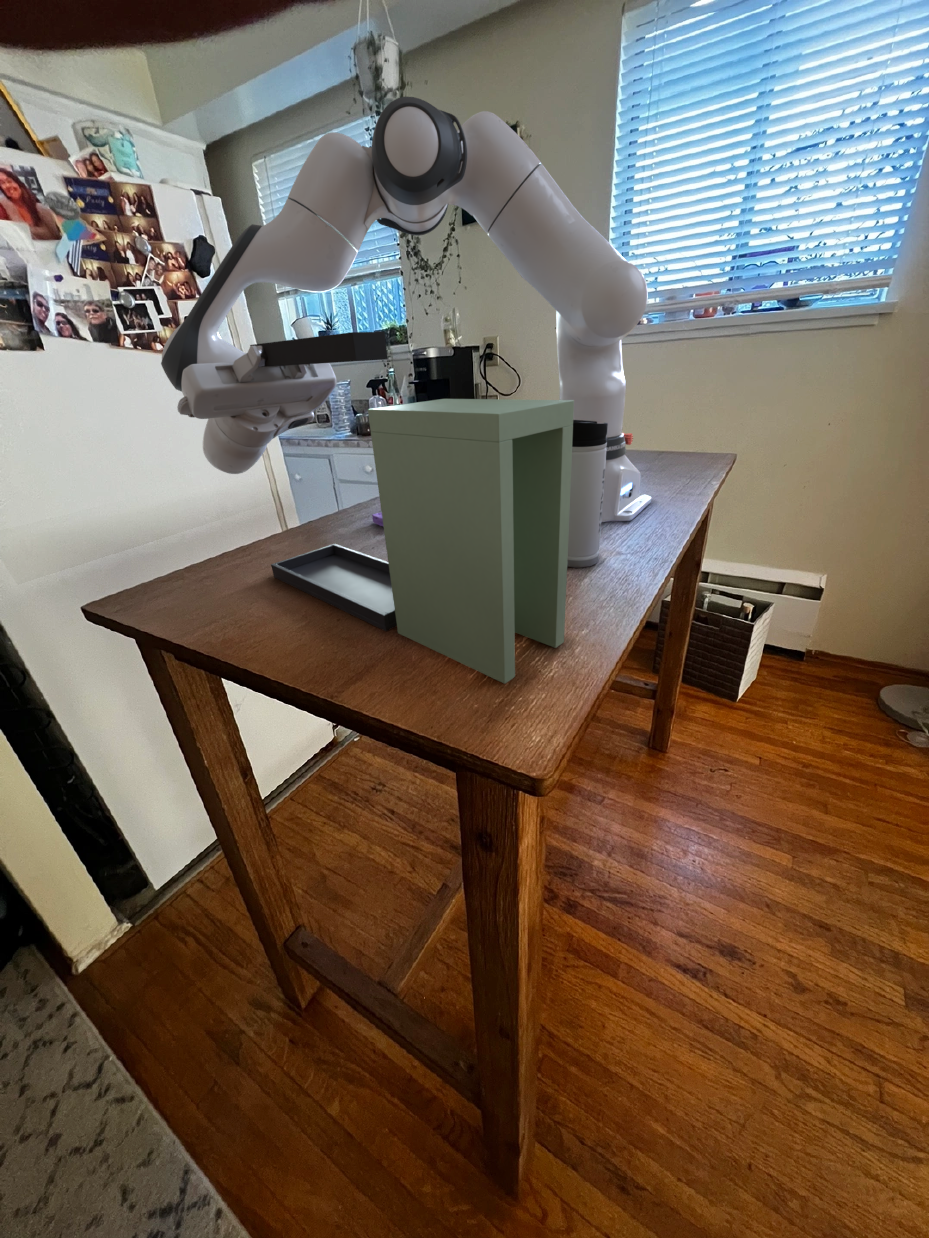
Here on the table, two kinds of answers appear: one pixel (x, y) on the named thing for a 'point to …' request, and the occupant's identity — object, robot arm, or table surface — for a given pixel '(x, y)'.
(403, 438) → the stool
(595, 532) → the travel mug
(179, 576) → the table surface
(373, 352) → the black pad
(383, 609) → the shallow dark gray tray
